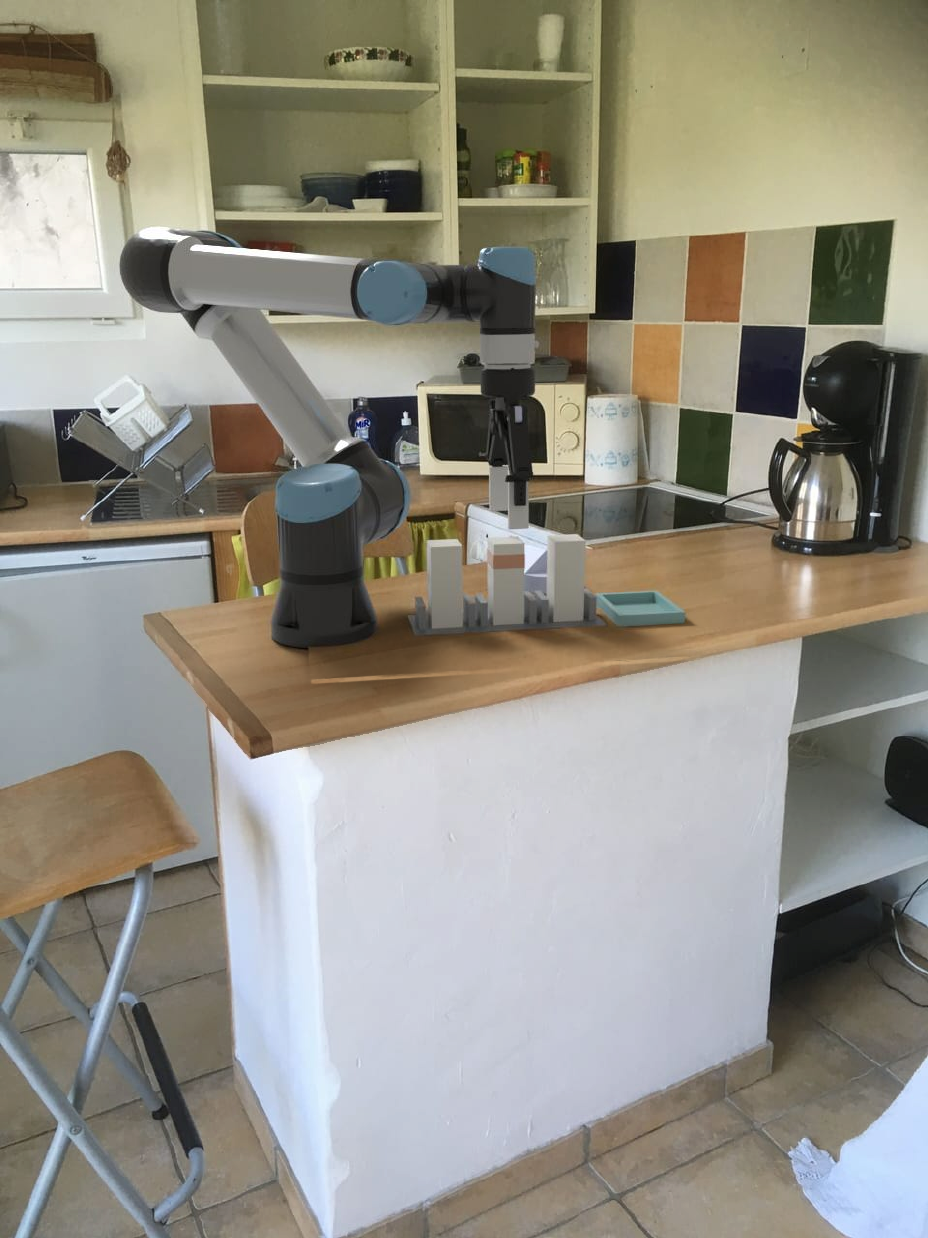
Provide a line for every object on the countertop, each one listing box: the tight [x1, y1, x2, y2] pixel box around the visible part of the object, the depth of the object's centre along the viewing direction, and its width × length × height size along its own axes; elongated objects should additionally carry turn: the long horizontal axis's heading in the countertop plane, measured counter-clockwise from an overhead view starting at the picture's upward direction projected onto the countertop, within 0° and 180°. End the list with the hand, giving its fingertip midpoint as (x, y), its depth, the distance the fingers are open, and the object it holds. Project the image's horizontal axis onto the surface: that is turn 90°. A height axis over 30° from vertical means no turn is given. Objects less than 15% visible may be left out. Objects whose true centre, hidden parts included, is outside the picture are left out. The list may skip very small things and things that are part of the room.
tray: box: [594, 590, 686, 628], centre depth 153 cm, size 10×12×2 cm
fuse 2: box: [545, 533, 587, 622], centre depth 150 cm, size 4×4×12 cm
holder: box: [407, 587, 607, 637], centre depth 150 cm, size 28×10×4 cm, turn 99°
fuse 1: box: [426, 538, 464, 629], centre depth 147 cm, size 4×4×12 cm
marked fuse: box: [486, 536, 526, 625], centre depth 149 cm, size 5×5×12 cm
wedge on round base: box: [524, 543, 547, 595], centre depth 169 cm, size 9×7×13 cm
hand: (508, 519), depth 146 cm, fingers open, 13 cm apart
